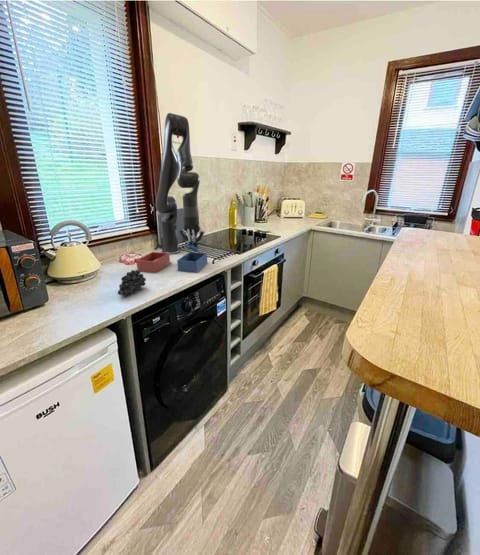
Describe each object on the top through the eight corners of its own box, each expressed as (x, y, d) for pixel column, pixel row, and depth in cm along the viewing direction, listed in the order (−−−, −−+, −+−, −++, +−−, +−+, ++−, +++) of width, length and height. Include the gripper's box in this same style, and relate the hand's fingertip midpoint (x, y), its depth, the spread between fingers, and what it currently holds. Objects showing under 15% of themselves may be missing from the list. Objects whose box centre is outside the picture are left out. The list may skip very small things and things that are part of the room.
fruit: (120, 279, 104) (143, 265, 117) (104, 283, 107) (129, 269, 120) (130, 299, 106) (151, 283, 120) (114, 302, 110) (137, 287, 123)
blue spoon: (192, 247, 135) (193, 242, 136) (185, 247, 136) (185, 242, 137) (200, 251, 146) (201, 247, 147) (193, 251, 147) (194, 246, 147)
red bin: (137, 270, 139) (136, 260, 137) (153, 261, 152) (152, 251, 150) (155, 272, 136) (154, 261, 134) (170, 262, 150) (169, 253, 148)
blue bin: (178, 270, 139) (177, 260, 137) (190, 261, 152) (189, 251, 150) (196, 272, 136) (196, 261, 134) (207, 263, 150) (207, 253, 148)
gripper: (206, 214, 137) (208, 247, 144) (181, 213, 140) (184, 246, 147) (201, 216, 130) (203, 251, 137) (175, 215, 133) (178, 250, 140)
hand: (193, 248), depth 142 cm, fingers closed on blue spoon, 1 cm apart
